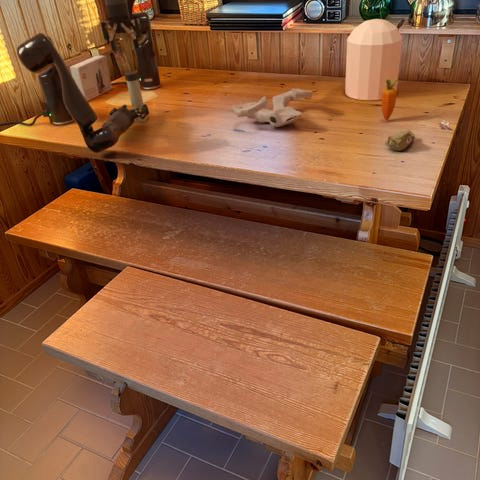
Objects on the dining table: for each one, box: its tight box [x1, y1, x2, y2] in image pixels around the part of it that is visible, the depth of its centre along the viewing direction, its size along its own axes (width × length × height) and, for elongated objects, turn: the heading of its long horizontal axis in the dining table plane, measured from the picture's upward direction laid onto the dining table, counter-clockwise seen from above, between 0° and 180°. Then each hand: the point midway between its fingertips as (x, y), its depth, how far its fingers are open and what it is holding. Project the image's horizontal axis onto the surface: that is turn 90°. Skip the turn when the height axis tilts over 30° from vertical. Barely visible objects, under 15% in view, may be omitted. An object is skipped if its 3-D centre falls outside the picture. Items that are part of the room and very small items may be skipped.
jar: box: [126, 79, 147, 123], centre depth 183 cm, size 5×5×18 cm
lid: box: [123, 70, 139, 82], centre depth 178 cm, size 5×5×2 cm
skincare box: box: [69, 54, 113, 102], centre depth 218 cm, size 21×6×16 cm, turn 158°
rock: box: [387, 129, 416, 152], centre depth 146 cm, size 11×6×10 cm
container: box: [344, 18, 403, 101], centre depth 185 cm, size 21×21×28 cm
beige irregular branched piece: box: [231, 88, 314, 128], centre depth 171 cm, size 28×26×12 cm
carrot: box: [380, 79, 398, 122], centre depth 161 cm, size 5×5×15 cm
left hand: (135, 106), depth 183 cm, fingers open, 8 cm apart
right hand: (126, 50), depth 173 cm, fingers open, 7 cm apart
